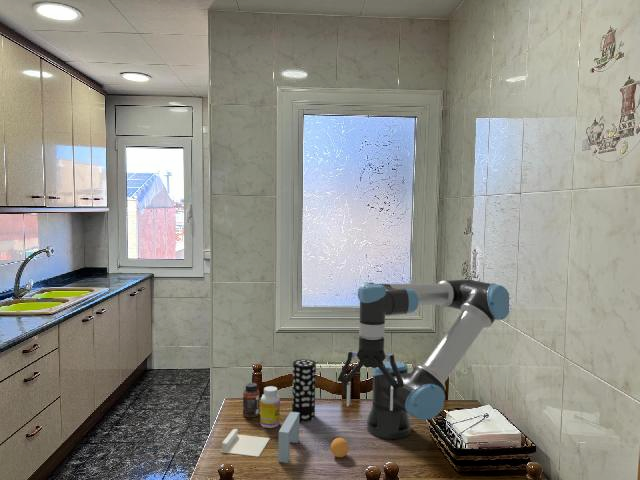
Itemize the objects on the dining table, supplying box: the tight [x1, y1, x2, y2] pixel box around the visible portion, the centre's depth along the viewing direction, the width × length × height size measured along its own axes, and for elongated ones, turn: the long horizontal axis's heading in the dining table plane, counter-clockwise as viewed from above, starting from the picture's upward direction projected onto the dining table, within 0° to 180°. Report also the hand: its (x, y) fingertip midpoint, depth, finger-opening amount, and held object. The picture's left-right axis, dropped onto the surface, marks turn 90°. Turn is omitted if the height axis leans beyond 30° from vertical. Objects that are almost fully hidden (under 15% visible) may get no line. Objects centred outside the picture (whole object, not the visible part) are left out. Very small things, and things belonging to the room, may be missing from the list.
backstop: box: [221, 428, 239, 451], centre depth 151 cm, size 2×10×2 cm, turn 170°
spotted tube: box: [291, 358, 317, 422], centre depth 172 cm, size 8×8×20 cm
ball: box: [330, 437, 350, 458], centre depth 145 cm, size 6×6×6 cm
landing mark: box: [220, 433, 271, 458], centre depth 151 cm, size 12×12×1 cm
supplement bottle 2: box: [259, 385, 281, 429], centre depth 165 cm, size 7×7×13 cm
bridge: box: [277, 411, 300, 463], centre depth 148 cm, size 3×14×9 cm, turn 169°
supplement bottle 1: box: [242, 382, 260, 419], centre depth 173 cm, size 6×6×11 cm
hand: (369, 406), depth 143 cm, fingers open, 12 cm apart
